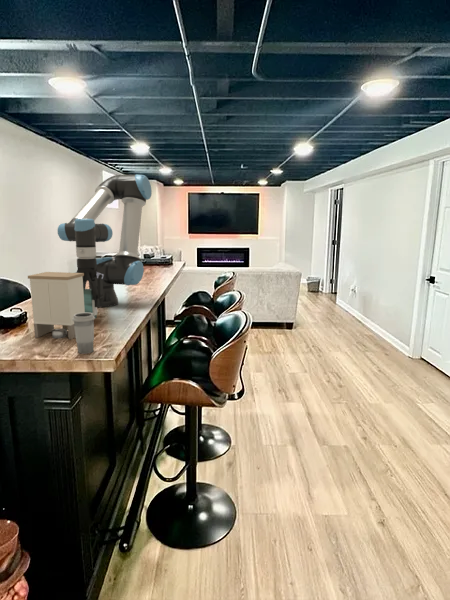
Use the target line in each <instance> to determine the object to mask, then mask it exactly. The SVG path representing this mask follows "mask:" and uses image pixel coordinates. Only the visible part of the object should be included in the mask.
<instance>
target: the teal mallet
mask: <svg viewBox="0 0 450 600" xmlns="http://www.w3.org/2000/svg"><path fill="white" fill-rule="evenodd" d="M83 292H84V308H85V312H88V313H93V310H92V300H93V299H94V298H93V294H92V290H91V289H89V288H85V289H84V290H83ZM97 315H98V314H97ZM97 315H95V316H94V317H95V319H96V318H97V317H98V316H97ZM61 326H62V327H61V328H65V329H67V331H68V325H61Z"/></svg>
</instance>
